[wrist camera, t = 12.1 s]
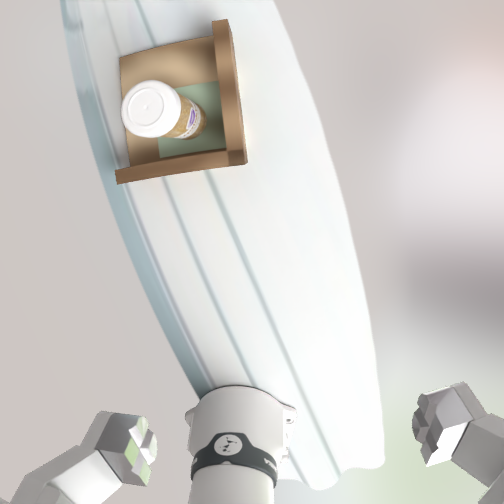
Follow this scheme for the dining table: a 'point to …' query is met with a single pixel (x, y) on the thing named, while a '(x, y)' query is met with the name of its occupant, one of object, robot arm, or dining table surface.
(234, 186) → the dining table surface
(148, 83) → the sprinkles bottle
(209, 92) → the corner arena
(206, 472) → the robot arm
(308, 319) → the dining table surface
